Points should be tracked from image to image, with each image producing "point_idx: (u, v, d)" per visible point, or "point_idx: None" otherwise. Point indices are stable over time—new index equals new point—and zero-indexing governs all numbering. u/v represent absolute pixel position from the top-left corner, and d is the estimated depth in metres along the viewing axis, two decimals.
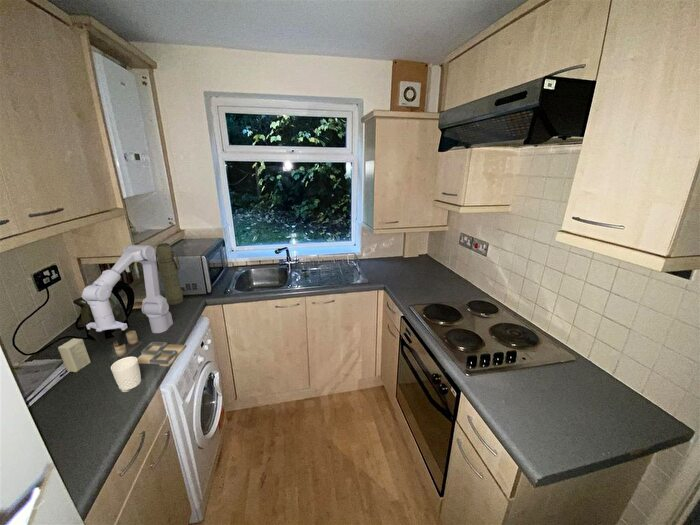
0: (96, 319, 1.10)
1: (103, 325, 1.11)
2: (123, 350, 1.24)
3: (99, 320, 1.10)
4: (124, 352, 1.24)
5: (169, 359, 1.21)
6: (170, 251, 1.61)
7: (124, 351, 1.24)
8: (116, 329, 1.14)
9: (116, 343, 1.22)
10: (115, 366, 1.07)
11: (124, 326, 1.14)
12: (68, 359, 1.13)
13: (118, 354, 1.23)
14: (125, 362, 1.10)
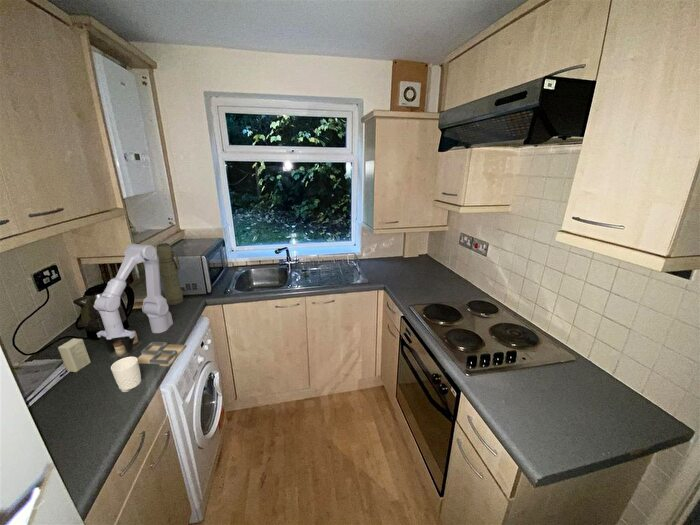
0: (106, 328, 1.18)
1: (113, 333, 1.19)
2: (123, 350, 1.24)
3: (109, 328, 1.18)
4: (124, 352, 1.24)
5: (169, 359, 1.21)
6: (170, 251, 1.61)
7: (124, 351, 1.24)
8: (125, 337, 1.21)
9: (116, 343, 1.22)
10: (115, 366, 1.07)
11: (132, 334, 1.21)
12: (68, 359, 1.13)
13: (118, 354, 1.23)
14: (125, 362, 1.10)
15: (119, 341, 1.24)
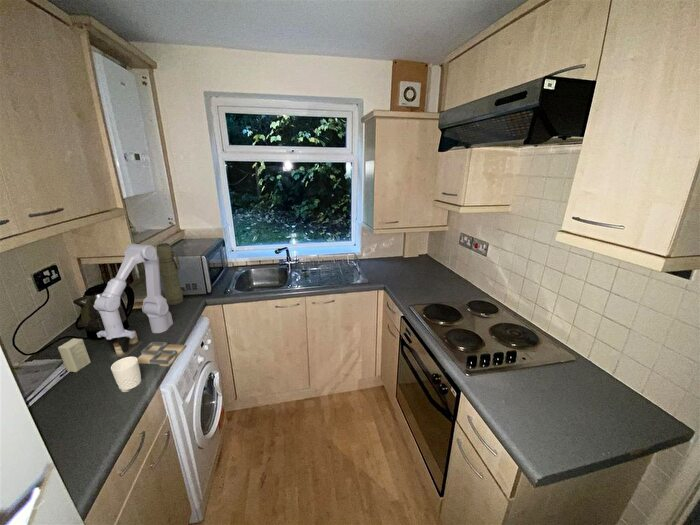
0: (106, 328, 1.18)
1: (113, 333, 1.19)
2: None
3: (109, 328, 1.18)
4: None
5: (169, 359, 1.21)
6: (170, 251, 1.61)
7: None
8: (125, 337, 1.21)
9: (116, 343, 1.22)
10: (115, 366, 1.07)
11: (132, 334, 1.21)
12: (68, 359, 1.13)
13: (118, 354, 1.23)
14: (125, 362, 1.10)
15: None
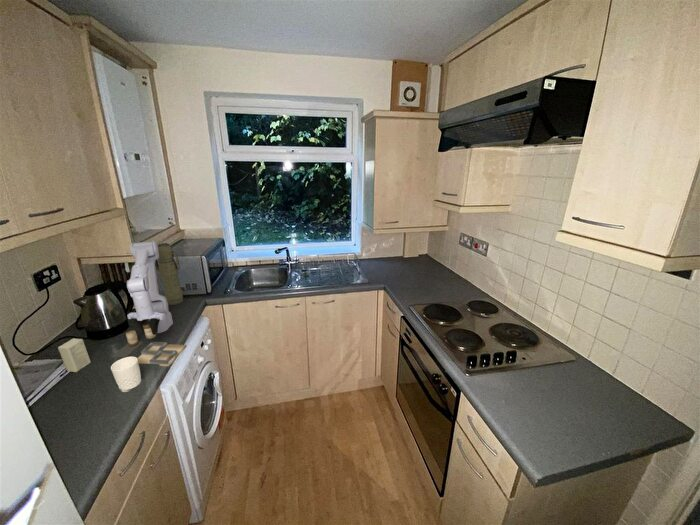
0: (137, 309, 1.18)
1: (143, 315, 1.19)
2: None
3: (140, 309, 1.18)
4: None
5: (169, 359, 1.21)
6: (170, 251, 1.61)
7: None
8: (155, 319, 1.22)
9: (146, 325, 1.23)
10: (115, 366, 1.07)
11: (162, 316, 1.22)
12: (68, 359, 1.13)
13: (147, 336, 1.24)
14: (125, 362, 1.10)
15: None
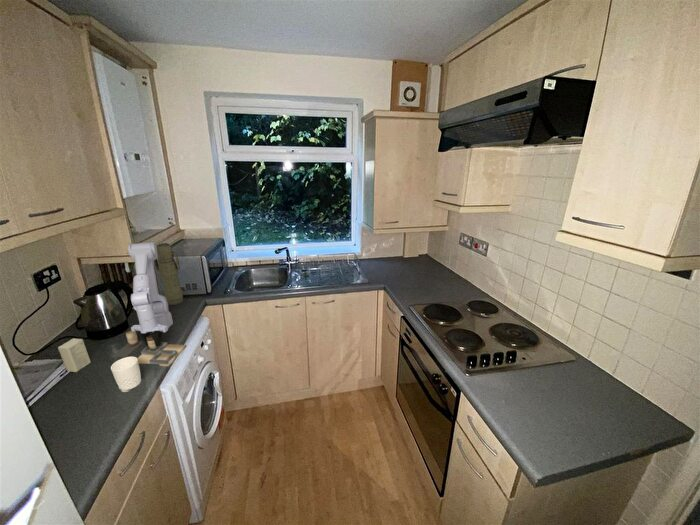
0: (141, 322, 1.20)
1: (147, 327, 1.22)
2: None
3: (144, 322, 1.20)
4: None
5: (169, 359, 1.21)
6: (170, 251, 1.61)
7: None
8: (158, 331, 1.24)
9: (149, 337, 1.25)
10: (115, 366, 1.07)
11: (165, 328, 1.24)
12: (68, 359, 1.13)
13: (151, 348, 1.26)
14: (125, 362, 1.10)
15: None
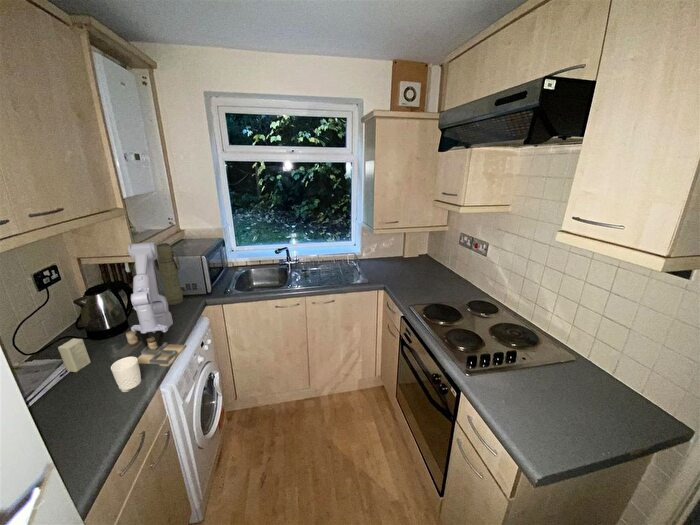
0: (141, 322, 1.20)
1: (147, 327, 1.22)
2: (156, 346, 1.27)
3: (144, 322, 1.20)
4: (157, 348, 1.27)
5: (169, 359, 1.21)
6: (170, 251, 1.61)
7: (157, 347, 1.27)
8: (158, 331, 1.24)
9: (149, 339, 1.25)
10: (115, 366, 1.07)
11: (165, 328, 1.24)
12: (68, 359, 1.13)
13: (151, 350, 1.26)
14: (125, 362, 1.10)
15: (152, 337, 1.26)
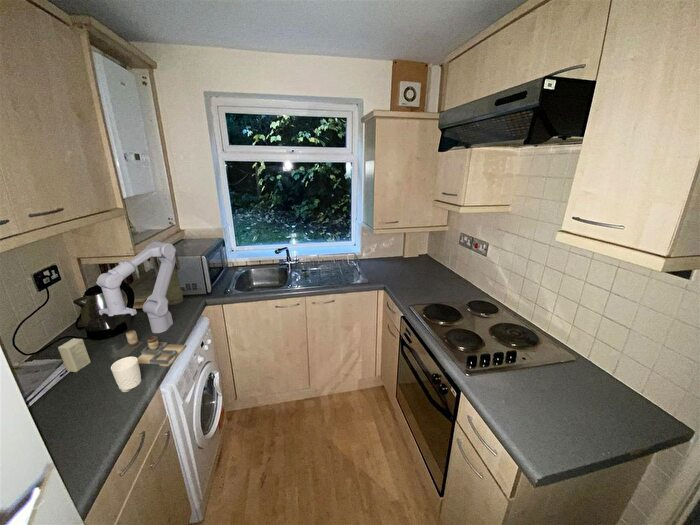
0: (108, 305, 1.20)
1: (114, 310, 1.21)
2: (156, 346, 1.27)
3: (111, 305, 1.20)
4: (157, 348, 1.27)
5: (169, 359, 1.21)
6: None
7: (157, 347, 1.27)
8: (126, 314, 1.24)
9: (150, 339, 1.25)
10: (115, 366, 1.07)
11: (133, 312, 1.24)
12: (68, 359, 1.13)
13: (151, 350, 1.26)
14: (125, 362, 1.10)
15: (152, 337, 1.26)
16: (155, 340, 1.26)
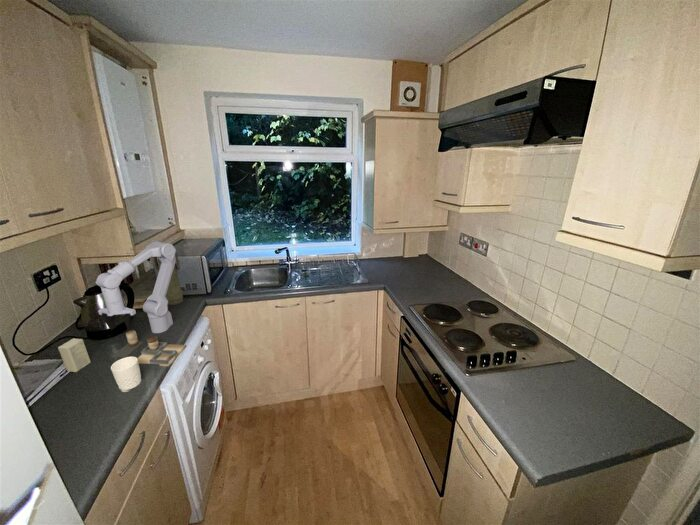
0: (107, 305, 1.20)
1: (114, 310, 1.22)
2: (156, 346, 1.27)
3: (110, 305, 1.20)
4: (157, 348, 1.27)
5: (169, 359, 1.21)
6: None
7: (157, 347, 1.27)
8: (125, 314, 1.24)
9: (150, 339, 1.25)
10: (115, 366, 1.07)
11: (133, 312, 1.24)
12: (68, 359, 1.13)
13: (151, 350, 1.26)
14: (125, 362, 1.10)
15: (152, 337, 1.26)
16: (155, 340, 1.26)
